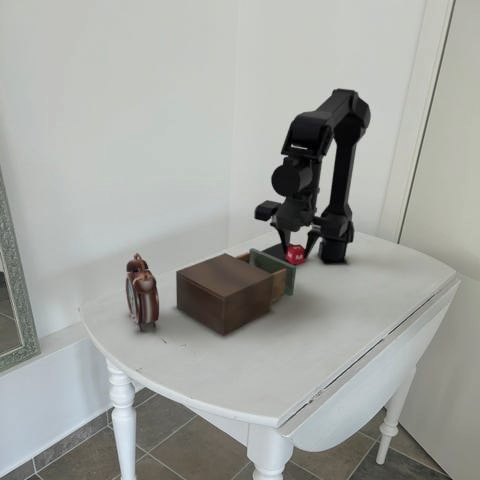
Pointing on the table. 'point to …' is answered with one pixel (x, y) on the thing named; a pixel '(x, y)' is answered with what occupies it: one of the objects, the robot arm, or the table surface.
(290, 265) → the drawer
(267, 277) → the cabinet
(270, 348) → the table surface
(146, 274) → the alarm clock
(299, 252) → the red letter m cube
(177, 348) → the table surface
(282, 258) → the carrying case
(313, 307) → the table surface
